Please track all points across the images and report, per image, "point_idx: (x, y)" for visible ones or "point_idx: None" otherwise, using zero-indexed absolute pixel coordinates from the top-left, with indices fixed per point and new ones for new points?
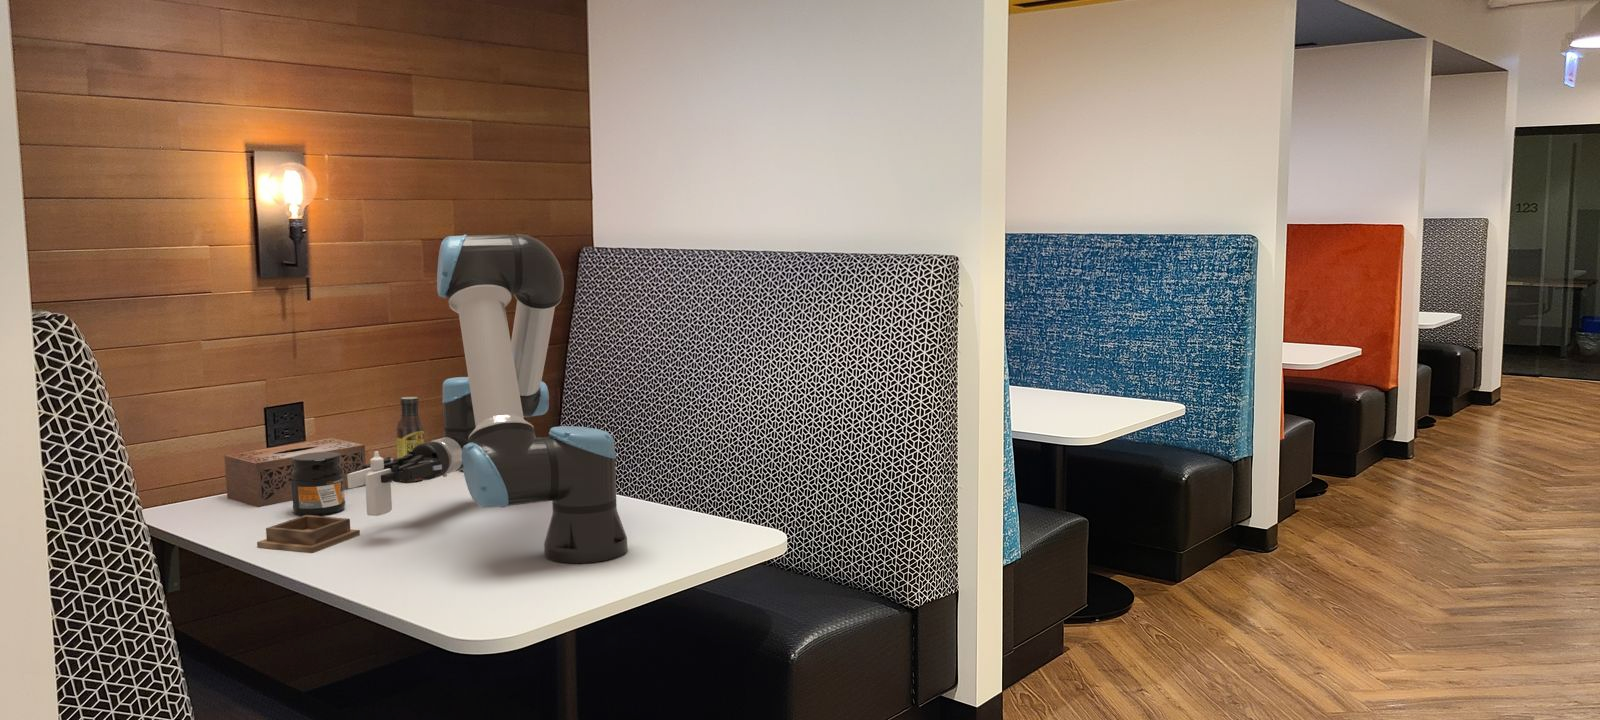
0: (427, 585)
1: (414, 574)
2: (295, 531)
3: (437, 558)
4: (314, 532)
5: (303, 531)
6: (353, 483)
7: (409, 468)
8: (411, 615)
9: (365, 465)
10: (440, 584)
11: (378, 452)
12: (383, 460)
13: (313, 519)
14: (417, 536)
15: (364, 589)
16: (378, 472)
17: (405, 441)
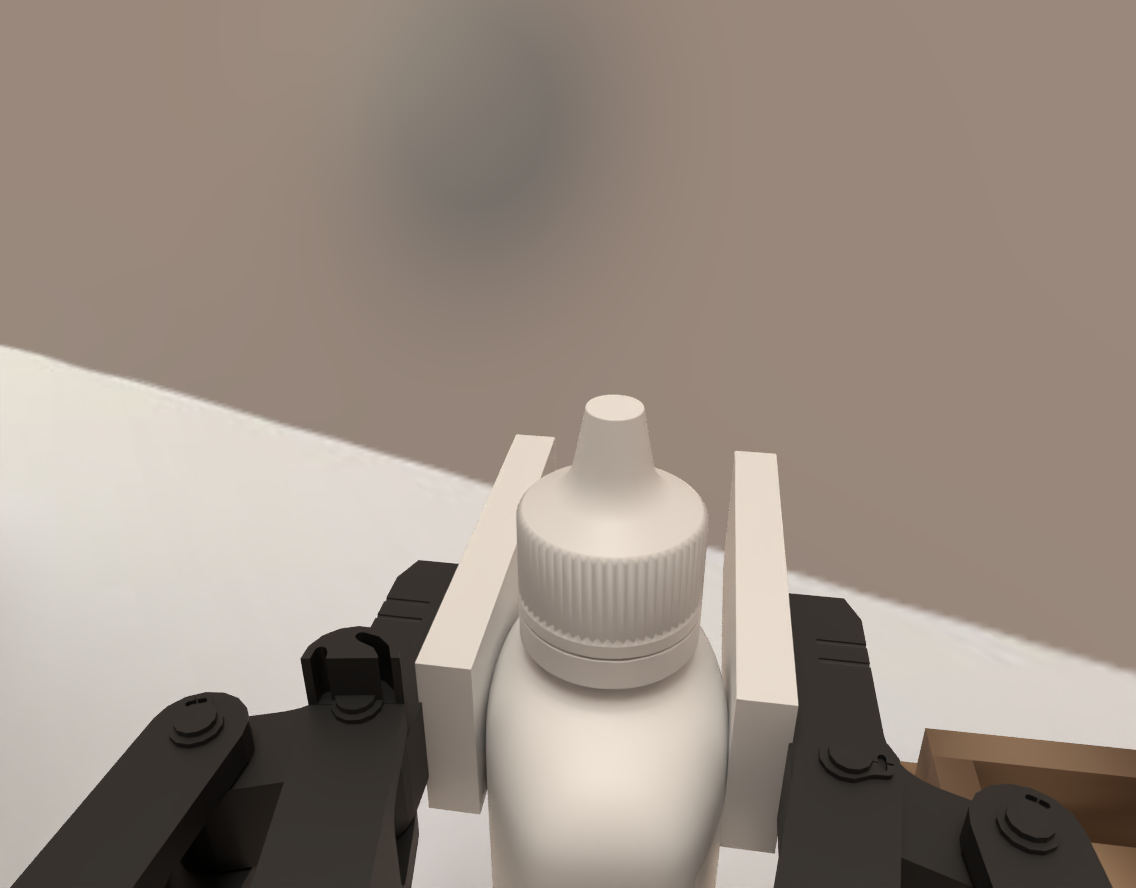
0: (75, 521)
1: (143, 594)
2: (1063, 743)
3: (34, 787)
4: (929, 758)
5: (998, 739)
6: (726, 555)
7: (140, 749)
8: (109, 390)
9: (1028, 823)
10: (23, 532)
11: (585, 424)
12: (524, 555)
13: None
14: None
15: (306, 481)
16: (483, 514)
17: None
